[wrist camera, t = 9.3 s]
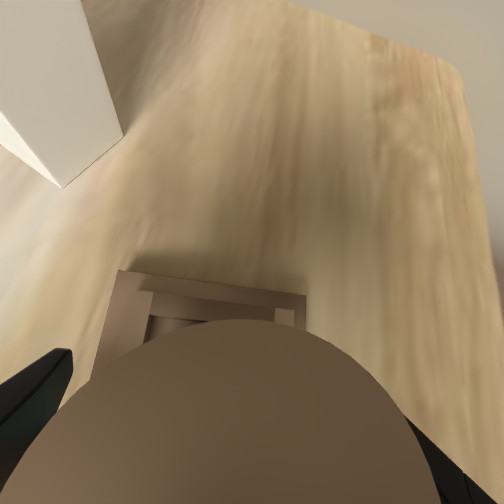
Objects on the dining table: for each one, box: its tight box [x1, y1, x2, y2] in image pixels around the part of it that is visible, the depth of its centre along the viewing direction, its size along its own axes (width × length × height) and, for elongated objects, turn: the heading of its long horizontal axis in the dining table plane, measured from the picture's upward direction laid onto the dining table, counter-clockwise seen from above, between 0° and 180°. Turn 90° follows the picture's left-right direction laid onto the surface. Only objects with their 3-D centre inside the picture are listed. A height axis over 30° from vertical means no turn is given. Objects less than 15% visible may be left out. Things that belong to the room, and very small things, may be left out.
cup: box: [0, 319, 441, 504], centre depth 10 cm, size 5×5×14 cm
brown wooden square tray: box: [90, 270, 306, 380], centre depth 16 cm, size 12×12×3 cm
